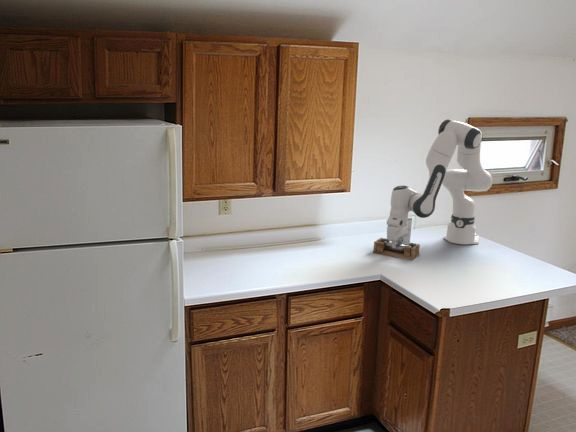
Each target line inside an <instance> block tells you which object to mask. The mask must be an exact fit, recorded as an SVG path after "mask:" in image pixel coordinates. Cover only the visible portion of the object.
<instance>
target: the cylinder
mask: <svg viewBox="0 0 576 432" xmlns="http://www.w3.org/2000/svg"><path fill="white" fill-rule="evenodd" d="M396 244H397V243H396ZM405 246H408V247H412V246H409V244H406V245H402V244H397V246H396V248H393V247H392V242H391V241H389V242H386V241H384V250H390V251H395V252H401V253H404V247H405Z"/></svg>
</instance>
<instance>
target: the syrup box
mask: <svg viewBox="0 0 576 432" xmlns="http://www.w3.org/2000/svg"><path fill="white" fill-rule="evenodd" d="M412 222H413V217H410V216H408V229H407V233H406V234H404V235H403V238H402V243H401V244H402V245H409V244H410V243H411V235H412V224H413V223H412ZM397 240H398V239H397ZM397 240H396V244H397Z"/></svg>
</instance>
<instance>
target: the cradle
mask: <svg viewBox="0 0 576 432" xmlns="http://www.w3.org/2000/svg"><path fill="white" fill-rule="evenodd" d="M384 241H386V242H390V241H388V240H387V238H384V237H380V238H378V239H377V240H375V241H374V242H373V250H372V251H373V252H372V253H373V254H376V255H377V254H378V255H383V256H388V257H395V258H400V259H406V260H409V261H414V260H415V259H416V258H417V257H419V255H420V246H421V245H420V243H414V242H410V244H408V246H412V247H408V246H405V247H404V253H401V252H395V251H390V250H384Z"/></svg>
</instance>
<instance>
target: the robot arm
mask: <svg viewBox="0 0 576 432" xmlns="http://www.w3.org/2000/svg"><path fill="white" fill-rule="evenodd" d="M437 134H438V135H437V137H436V139H434V141H433V143H432V145H431V147H430V149H429V150H428V153H427V156H426V159H425V164H426V167H427V170H428V172H429V174H428V175H429V177H428V180H427V184H426V185H425V188H424V190H423V193H422V192H419V191H416V190H414V189H411V188H410V187H409V186H408V185H397V186H396V187H395V186H394V188H393V189H392V191H391V198H390V211H389V215H388V219H387V220H386V225H387V228H386V239H387V240H388V241H389V242H390V243H392V247H393V248H396V246H397V244H401V243H402V238H403V235H404V234H406V233H407V229H408V217H409V212H413V213H414V214H415V215H416V216H417V217H419V218H421V219H422V218H423V219H424V218H428V217H430V216H431V215H432V214H434V212H435V209H436V202H437V197H438V195H439V192H440V189H441V187H442V186H443V187H444V188H445V190H447V191H448V192H449V194H450V196H451V199H452V214H451V217H450V222H449V223H448V224H447V228H446V234H445V235H444V236H443V237H442V239H443V240H446V241H448V243H453V244H456V245H457V244H458V245H478V244H479V243H480V240H479V239H480V236H479V235H477V233H476V229H477V227H476V225H475V222H476V221H475V210H476V209H475V208H476V202H475V200H474V199H472V198H471V197H470V196H468V195H467V194H465V191H467V192H476V193H477V192H478V193H479V192H487V191H488V190H490V188H492V185H493V176H492V175H491V173H490V172H488V171H487V170H485V168H484V167H483V166H482V163H481V148H482V147H481V143H482V141H483V133H482V131H481V130H480V129H479V128H477V127H475V126H472V125H470V124H468V123H466V122H462V121H456V120H455V119H452V118H451V119H450V118H449V119H445V120H443V121H442V122H441V123H440V125H439V127H438V133H437ZM456 148H457V155H456V156H457V157H456V161H457V163H458V165H459V166H460V167H461V169H459V168H452V169H448V167H449V164H450V162H451V160H452V158H453V156H454V153H455V151H456ZM462 168H463V169H462ZM397 239H398V240H397ZM396 240H397V243H396Z"/></svg>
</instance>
